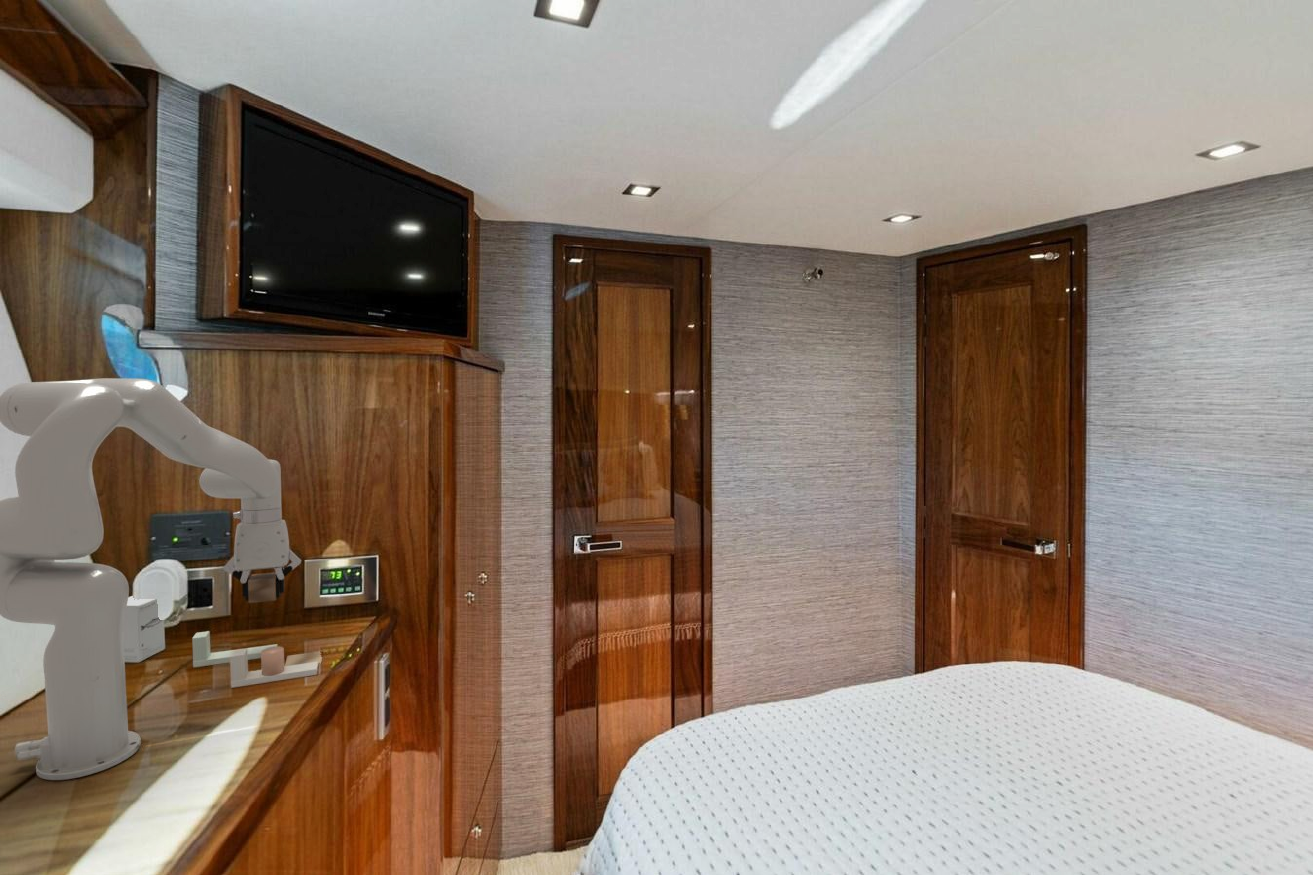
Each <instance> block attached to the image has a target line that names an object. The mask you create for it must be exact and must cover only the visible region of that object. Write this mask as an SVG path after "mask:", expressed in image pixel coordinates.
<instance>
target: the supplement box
mask: <svg viewBox="0 0 1313 875" xmlns="http://www.w3.org/2000/svg"><path fill="white" fill-rule="evenodd" d="M133 596H134V595H131V596H128V602H127V606H126V611H125V617H124V628H123V643H124V661H125V663H141V662H142V661H145V660H146V659H147V658H151V657H152V656H153V655H156V654H158V653H160V652H162V651H164V650H166V638H165V637H166V635H165V634H166V633H165V632H166V631H165V619H164V620H160V619H159V617H158V604H157V599H139V600H137V599H135V600H134V598H133Z"/></svg>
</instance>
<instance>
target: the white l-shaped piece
mask: <svg viewBox="0 0 1313 875" xmlns="http://www.w3.org/2000/svg"><path fill="white" fill-rule="evenodd" d="M210 636H211V634H210V630H207V631H201V632H200V631H199V632H198V631H197V632H195V634H194V635H193V637H192V639H191V640H192V641H191V642H192V667H193V668H201V667H205V666H207V667H208V666H213V665H221V664H230V656H231V654H232V652H233V650H234V649H231V650H225V651H217V652H216V651H215V652H211V641H210V640H211V637H210ZM276 646H278V643H277V644H268V645H261V646H254V647H253V646H252V647H247V654H248V661H250V660H256V659H261V651H262V650H264V649H266V648H270V647H276ZM238 649H239V648H237V649H236V650H238ZM244 649H246V648H244Z"/></svg>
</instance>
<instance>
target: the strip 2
mask: <svg viewBox="0 0 1313 875" xmlns="http://www.w3.org/2000/svg"><path fill="white" fill-rule="evenodd" d="M247 648H248V647H247ZM247 648H246V649H245V648H237V649H238V650H237V649H232V650H233V652H232V654H231V656H230V662H229V665H230V666H229V667H230V670H229V671H230V688H231V689H232V688H239V687H240V688H241V687H246V686H253V685H257V684H264V683H272V682H279V681H283V680H285V681H286V680H290V679H291V680H292V679H298V678H304V677H310V676H316V675H318V671H319V664H318V662H311V663H304V664H297V665H291V666H285V665H284V671H283V672H282V673H280V674H277V675H273V676H263V675H262V669H257V670H250V671H249V660H248V654H247Z"/></svg>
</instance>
